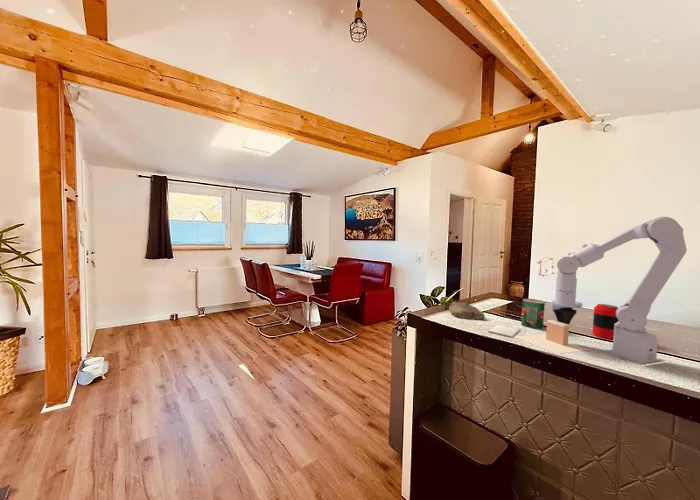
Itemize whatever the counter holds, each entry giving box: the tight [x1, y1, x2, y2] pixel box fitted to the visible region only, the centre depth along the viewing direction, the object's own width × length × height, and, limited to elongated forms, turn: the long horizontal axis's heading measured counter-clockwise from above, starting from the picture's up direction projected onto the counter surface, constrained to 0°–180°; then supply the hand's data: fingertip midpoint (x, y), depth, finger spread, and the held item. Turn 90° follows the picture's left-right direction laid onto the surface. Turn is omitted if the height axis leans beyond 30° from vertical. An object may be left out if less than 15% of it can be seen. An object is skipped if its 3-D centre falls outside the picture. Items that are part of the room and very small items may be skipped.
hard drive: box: [487, 324, 521, 339], centre depth 111 cm, size 2×8×12 cm
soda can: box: [592, 303, 619, 341], centre depth 110 cm, size 8×8×12 cm
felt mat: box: [514, 333, 589, 355], centre depth 100 cm, size 16×14×1 cm
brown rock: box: [448, 301, 485, 321], centre depth 138 cm, size 14×5×20 cm
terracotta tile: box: [545, 319, 570, 345], centre depth 101 cm, size 6×2×7 cm, turn 18°
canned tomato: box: [520, 298, 546, 330], centre depth 120 cm, size 8×8×11 cm
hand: (563, 328), depth 102 cm, fingers closed
